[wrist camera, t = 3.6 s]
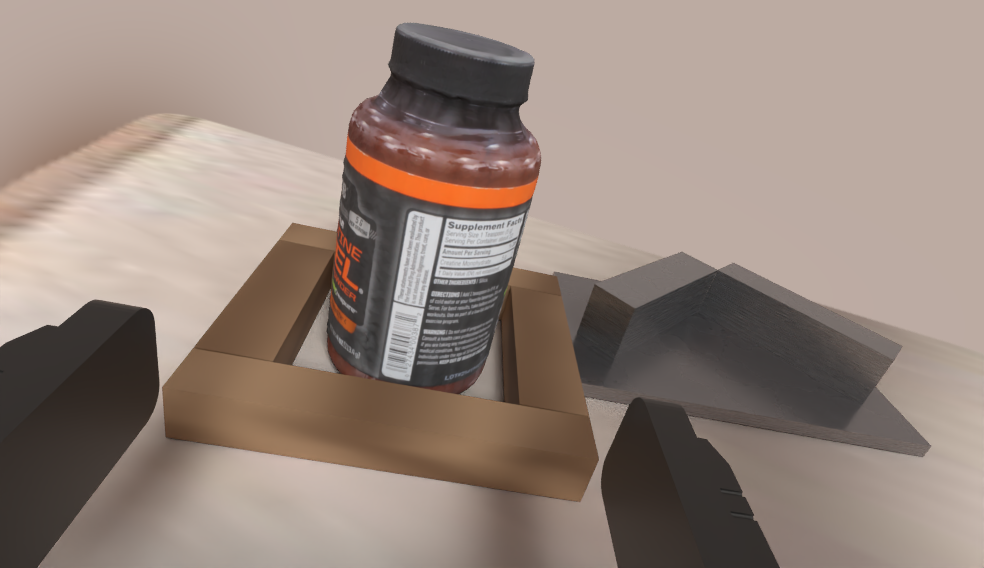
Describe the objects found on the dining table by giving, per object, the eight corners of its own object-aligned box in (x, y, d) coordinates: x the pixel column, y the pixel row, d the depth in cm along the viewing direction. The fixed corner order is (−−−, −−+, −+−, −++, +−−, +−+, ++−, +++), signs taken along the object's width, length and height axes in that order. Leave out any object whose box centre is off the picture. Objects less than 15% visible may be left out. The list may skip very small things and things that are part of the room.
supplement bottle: (312, 315, 22) (340, 0, 17) (452, 310, 25) (515, 38, 19) (340, 423, 17) (390, 38, 12) (508, 402, 20) (610, 79, 15)
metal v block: (811, 333, 31) (840, 285, 30) (922, 456, 23) (969, 399, 22) (550, 280, 29) (567, 227, 28) (573, 394, 21) (599, 327, 20)
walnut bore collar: (546, 309, 27) (557, 276, 26) (580, 501, 17) (598, 459, 16) (290, 258, 25) (292, 222, 24) (165, 437, 15) (162, 387, 15)
